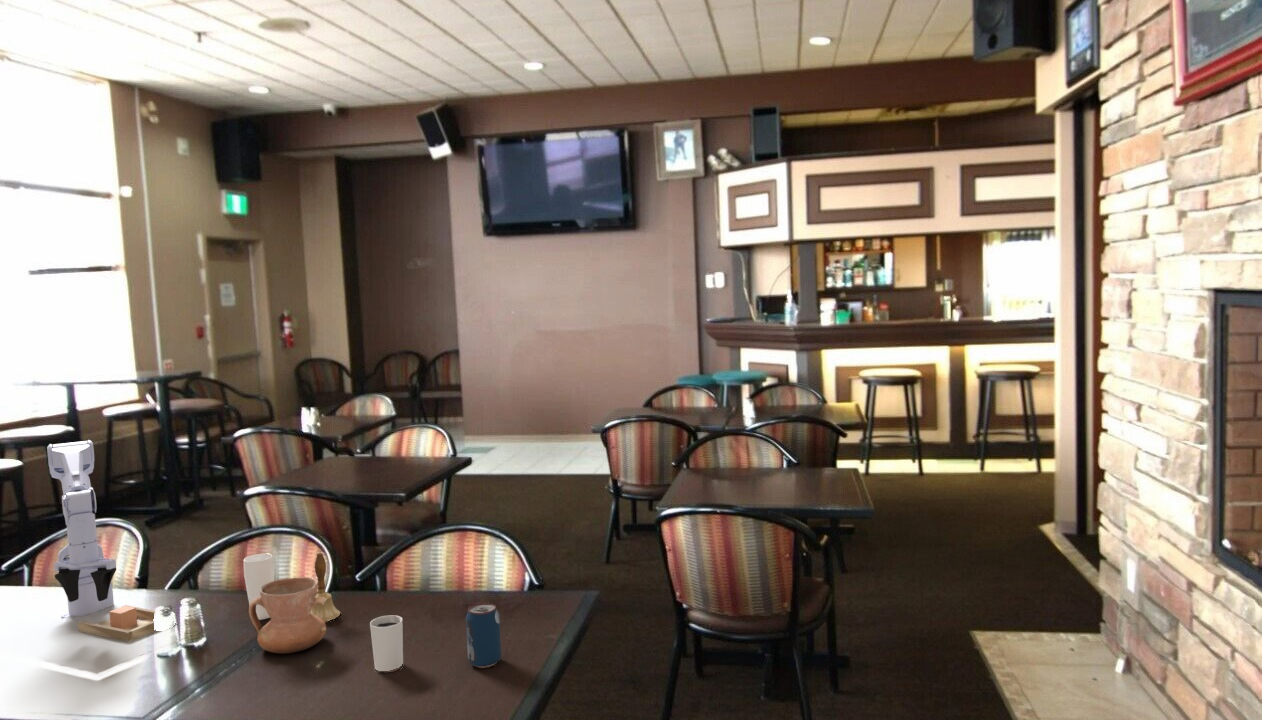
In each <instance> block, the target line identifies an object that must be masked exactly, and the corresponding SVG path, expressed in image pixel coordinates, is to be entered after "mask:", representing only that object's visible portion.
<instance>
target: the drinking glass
mask: <svg viewBox="0 0 1262 720" xmlns="http://www.w3.org/2000/svg"><path fill="white" fill-rule="evenodd" d="M274 567H275V566H274V557H273V555H272V554H271V553H258V554H257V553H256V554H252V555H249V556H246V557H244V559H243V576H244V582H245V586H246V587H245V588H246V593H247V595H246V596H247V601H248V604H249V606H250V603H251V602H252V601H253V600H254V599H256V598H261V595H260V588H261V586H263V585H264V584H266V583H269V582H271V581H275V568H274ZM256 613H257V617H258V619H259V621H263V620H266V619H271V618H270V616H269V615H268V613H267V611H266V609H265V608H264V607H263V606H261V605H256Z"/></svg>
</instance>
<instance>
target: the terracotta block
mask: <svg viewBox="0 0 1262 720" xmlns="http://www.w3.org/2000/svg"><path fill="white" fill-rule="evenodd" d="M129 606H130V605H127V606H125V605H123V607H122V606H120V607H118V608H115V609H113V610H110V611H109V619H110V625H111V627H114V628H119V629H126V628H128V627H131V626H133V625H136V624H137V622H138V618H137V613H136V608H134V607H135V606H132V607H129Z"/></svg>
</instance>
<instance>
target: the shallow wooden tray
mask: <svg viewBox="0 0 1262 720" xmlns="http://www.w3.org/2000/svg"><path fill="white" fill-rule="evenodd" d="M123 606H129V607H134V608H136V613H137V619H143V620H141V621H137V624H136V625H133V626H131V627H128V628H126V629H119V628H114V627H111V625H110V618H109V619H107V620H104V621H101V622H98V623H94V622H88V621H84V620H81V621H78V622H77V626H78V628H77V629H78V632H81V633H82V632H83V633H87V634H91V635H96V636H97V635H98V636H101V637H106V638H110V639H115V640H121V641H123V642H124V641H126V642H131V641H133V640H135V639H138V638H141V637H144V636H146V635H149V634H150V633H153V632H155V631H154V621H153V619H154V613H155V611H156V610H153V609H148V608H142V607H138V606H137V607H136V606H132V605H127V604H125V605H123ZM123 606H121V607H123Z"/></svg>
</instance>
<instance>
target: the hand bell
mask: <svg viewBox="0 0 1262 720" xmlns="http://www.w3.org/2000/svg"><path fill="white" fill-rule="evenodd" d="M314 570H315V575H316V578H317V582H318V589H317V594H316V598H318V597H324V598H326V599H327V600H326V601H325V603H324V605H322V604H320V603H318V604H316V605H314V606H313V607H312V610H311V612H310V613H311V614H313V615H315V616H317V617H319V618H321V619H322V620H323V621H324V622H325V623H327V622H326V621H330V620H332V619H335V618H336V617H338V616H339V615H340V613H341V612H340V610H338V608H336V606H335V604H334V602H333V597H332V595H331V593H328V592H327V591H326V584H325V583H326V581H325V576H326V572H327V562H326V560H325V557H324V555H323V553H322V552H318V553H316V558H315V561H314ZM330 622H331V621H330Z"/></svg>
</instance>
